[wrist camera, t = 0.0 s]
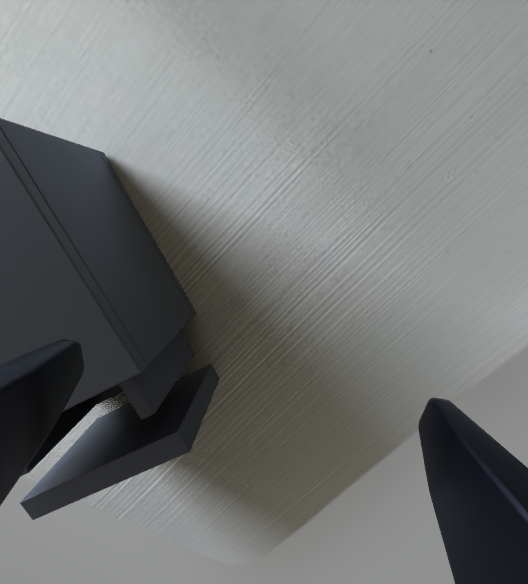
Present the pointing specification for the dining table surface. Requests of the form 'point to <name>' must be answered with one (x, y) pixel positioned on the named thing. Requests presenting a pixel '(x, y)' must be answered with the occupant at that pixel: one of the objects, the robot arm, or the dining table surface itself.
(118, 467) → the fryer drawer
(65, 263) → the dark grey box
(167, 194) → the dining table surface
